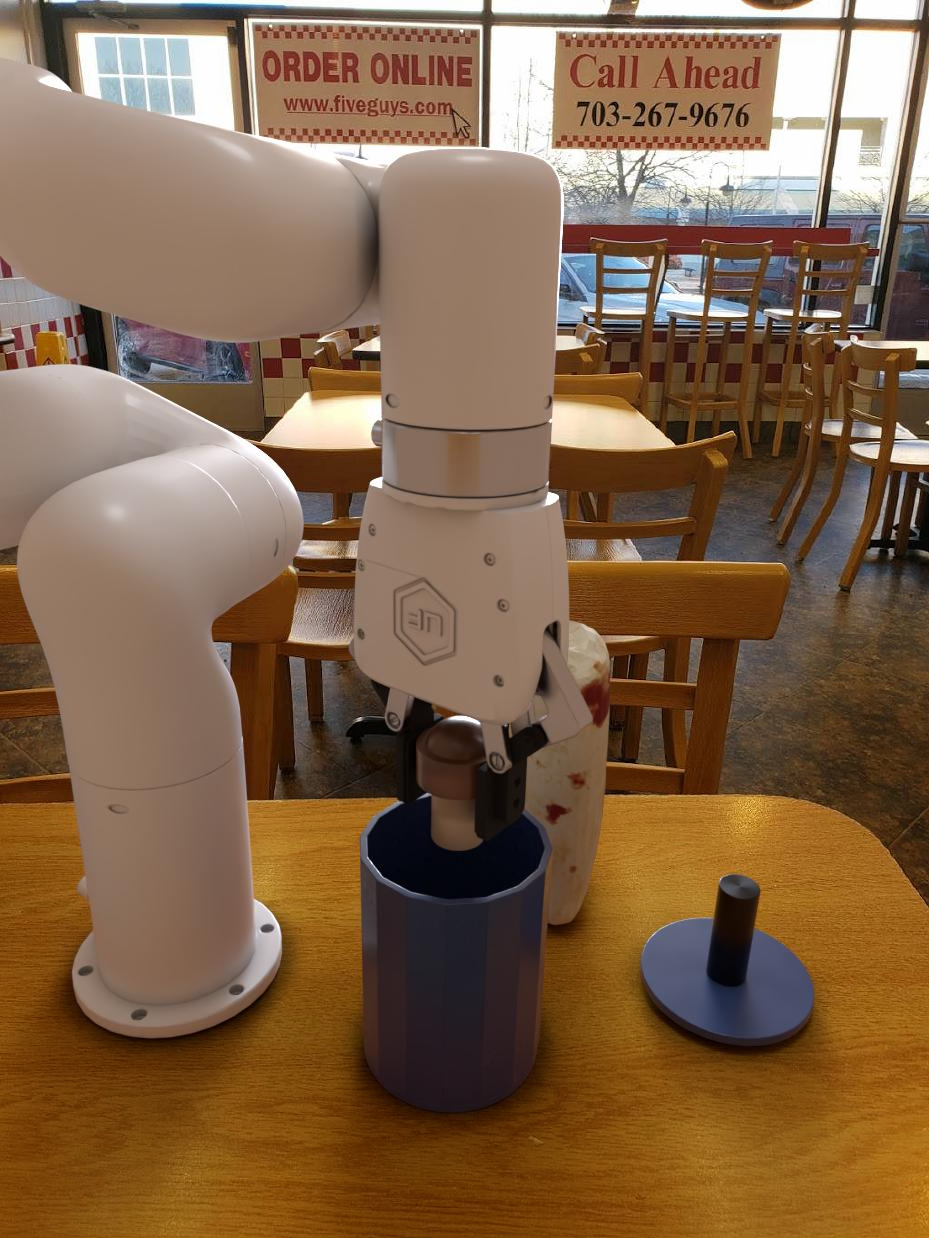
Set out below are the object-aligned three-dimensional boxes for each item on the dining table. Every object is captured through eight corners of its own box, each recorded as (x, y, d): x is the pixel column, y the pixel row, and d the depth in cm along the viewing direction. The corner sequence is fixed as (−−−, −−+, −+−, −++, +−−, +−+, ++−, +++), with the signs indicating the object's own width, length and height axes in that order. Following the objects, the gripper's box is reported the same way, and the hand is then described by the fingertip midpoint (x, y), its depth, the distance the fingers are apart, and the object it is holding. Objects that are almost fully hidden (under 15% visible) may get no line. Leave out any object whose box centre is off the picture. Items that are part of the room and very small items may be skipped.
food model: (607, 938, 63) (634, 664, 55) (507, 939, 62) (521, 664, 55) (584, 851, 72) (604, 606, 64) (497, 851, 71) (507, 605, 64)
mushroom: (398, 838, 49) (397, 722, 46) (451, 803, 52) (453, 692, 50) (465, 871, 46) (468, 750, 44) (516, 832, 50) (521, 717, 47)
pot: (327, 1048, 53) (319, 849, 48) (439, 954, 61) (442, 772, 56) (465, 1147, 48) (472, 932, 43) (570, 1030, 55) (586, 835, 50)
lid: (608, 996, 58) (619, 893, 55) (683, 911, 65) (696, 816, 63) (773, 1085, 52) (795, 974, 49) (834, 979, 60) (855, 878, 57)
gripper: (274, 445, 44) (292, 783, 51) (584, 506, 34) (556, 914, 41) (383, 425, 50) (387, 732, 56) (676, 473, 40) (638, 837, 47)
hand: (458, 805), depth 49 cm, fingers closed on mushroom, 4 cm apart
